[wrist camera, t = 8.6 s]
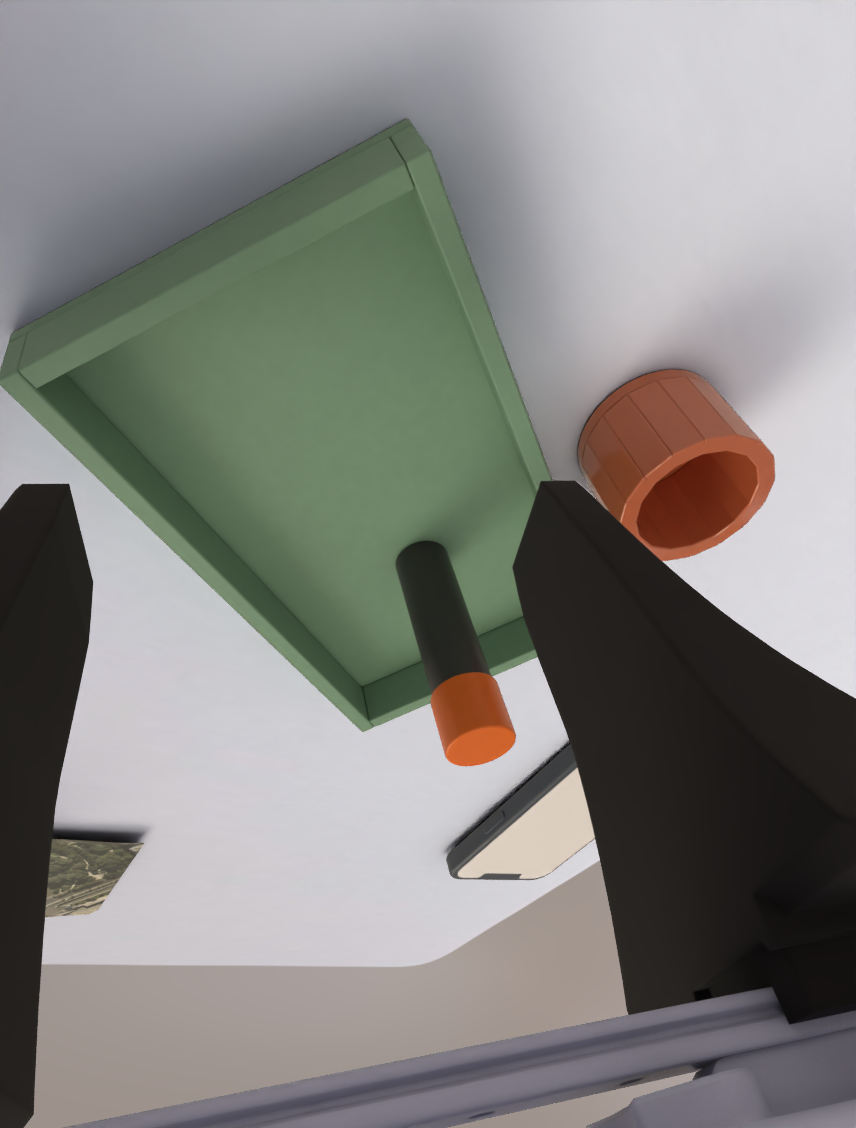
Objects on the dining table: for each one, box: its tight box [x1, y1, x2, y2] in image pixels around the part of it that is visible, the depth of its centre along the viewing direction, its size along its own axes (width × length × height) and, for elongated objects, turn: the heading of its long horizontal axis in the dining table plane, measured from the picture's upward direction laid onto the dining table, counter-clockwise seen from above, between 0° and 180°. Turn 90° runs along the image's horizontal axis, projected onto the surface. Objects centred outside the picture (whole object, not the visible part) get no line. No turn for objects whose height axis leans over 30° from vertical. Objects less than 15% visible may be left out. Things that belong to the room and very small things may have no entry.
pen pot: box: [578, 369, 775, 561], centre depth 25 cm, size 5×5×4 cm
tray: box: [0, 119, 552, 732], centre depth 24 cm, size 11×20×2 cm, turn 23°
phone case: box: [446, 744, 595, 880], centre depth 46 cm, size 9×2×16 cm
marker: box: [396, 541, 516, 766], centre depth 25 cm, size 2×2×8 cm
